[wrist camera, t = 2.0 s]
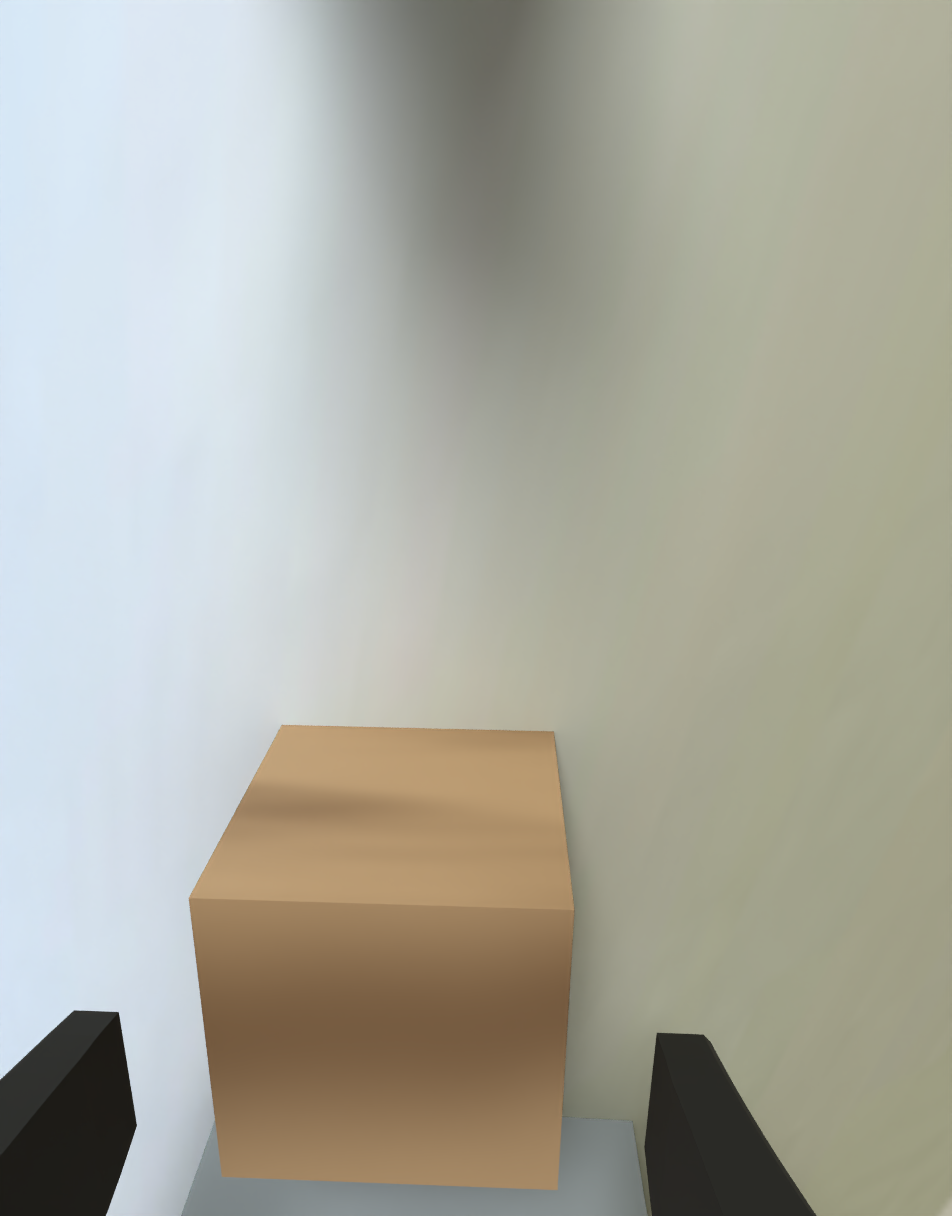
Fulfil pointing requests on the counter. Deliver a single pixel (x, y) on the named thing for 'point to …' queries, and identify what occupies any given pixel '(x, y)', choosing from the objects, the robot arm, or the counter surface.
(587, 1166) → the slate block
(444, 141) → the counter surface
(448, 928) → the walnut cube
